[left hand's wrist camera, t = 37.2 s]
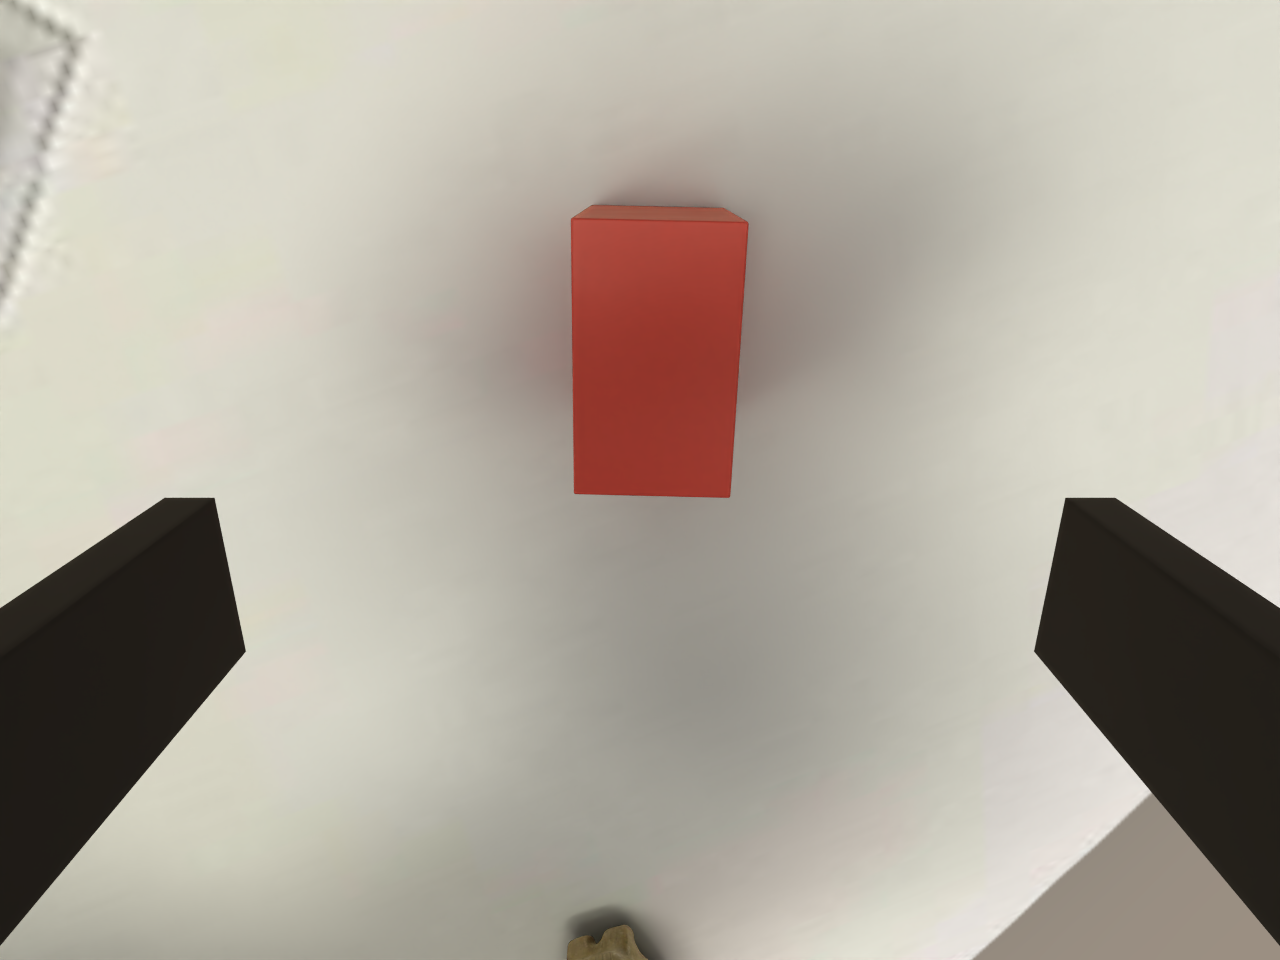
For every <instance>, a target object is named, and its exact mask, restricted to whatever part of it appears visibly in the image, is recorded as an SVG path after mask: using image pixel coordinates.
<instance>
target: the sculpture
mask: <svg viewBox="0 0 1280 960" xmlns="http://www.w3.org/2000/svg"><path fill="white" fill-rule="evenodd" d="M567 960H648V959H647V958H646V957H644V956H643V955H642V954H641V953H640V951H639V949H638V947H637V945H636V943H635V941H634V933H633V931H632V929H631V928H630V927H629V926H627V925H621V926H617V927H612V928H609V929H607V930H606V931H605V932H604V934H603V936H602V939H601V940H600V942H599V943H596V942H595V940H594V938H593V936H589V935H585V936H582V937H579V938H576V939H574V940H572V941H571V942H570V943H569V944H568V950H567Z"/></svg>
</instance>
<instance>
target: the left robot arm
mask: <svg viewBox="0 0 1280 960" xmlns="http://www.w3.org/2000/svg"><path fill="white" fill-rule="evenodd" d="M245 652H246V650H245V645H244V640H243V635H242V630H241V626H240V621H239V616H238V611H237V606H236V601H235V596H234V591H233V586H232V581H231V577H230V572H229V567H228V562H227V557H226V552H225V547H224V542H223V537H222V532H221V528H220V523H219V518H218V513H217V508H216V503H215V498H164V499H162V500H161V501H159V502H158V503H156V504H155V505H153V506H152V507H150V508H149V509H147V510H146V511H144V512H143V513H141V514H140V515H139V516H137V517H136V518H134V519H133V520H131V521H130V522H128V523H127V524H125V525H124V526H122V527H121V528H119V529H118V530H116V531H115V532H113V533H112V534H110V535H109V536H107V537H106V538H104V539H103V540H101V541H100V542H98V543H97V544H95V545H94V546H92V547H91V548H89V549H88V550H86V551H85V552H83V553H82V554H80V555H79V556H77V557H76V558H74V559H73V560H71V561H70V562H68V563H67V564H65V565H64V566H62V567H61V568H59V569H58V570H56V571H55V572H53V573H52V574H50V575H49V576H48V577H46V578H45V579H43V580H42V581H40V582H39V583H37V584H36V585H34V586H33V587H31V588H30V589H28V590H27V591H25V592H24V593H22V594H21V595H19V596H18V597H16V598H15V599H13V600H12V601H10V602H9V603H7V604H6V605H4V606H3V607H1V608H0V945H1V944H2V943H3V942H4V940H5V939H6V938H7V937H8V936H9V935H10V933H11V932H12V931H13V930H14V929H15V927H16V926H17V925H18V924H19V923H20V921H21V920H22V919H23V918H24V917H25V915H26V914H27V913H28V912H29V911H30V909H31V908H32V907H33V906H34V905H35V903H36V902H37V901H38V900H39V899H40V897H41V896H42V895H43V894H44V893H45V891H46V890H47V889H48V888H49V887H50V885H51V884H52V883H53V882H54V881H55V879H56V878H57V877H58V876H59V875H60V873H61V872H62V871H63V870H64V869H65V867H66V866H67V865H68V864H69V863H70V861H71V860H72V859H73V858H74V857H75V855H76V854H77V853H78V852H79V851H80V849H81V848H82V847H83V846H84V845H85V843H86V842H87V841H88V840H89V839H90V837H91V836H92V835H93V834H94V833H95V831H96V830H97V829H98V828H99V827H100V826H101V824H102V823H103V822H104V821H105V820H106V818H107V817H108V816H109V815H110V814H111V812H112V811H113V810H114V809H115V808H116V806H117V805H118V804H119V803H120V802H121V800H122V799H123V798H124V797H125V796H126V794H127V793H128V792H129V791H130V790H131V788H132V787H133V786H134V785H135V784H136V782H137V781H138V780H139V779H140V778H141V776H142V775H143V774H144V773H145V772H146V770H147V769H148V768H149V767H150V766H151V764H152V763H153V762H154V761H155V760H156V758H157V757H158V756H159V755H160V754H161V752H162V751H163V750H164V749H165V748H166V746H167V745H168V744H169V743H170V742H171V740H172V739H173V738H174V737H175V736H176V734H177V733H178V732H179V731H180V730H181V728H182V727H183V726H184V725H185V724H186V722H187V721H188V720H189V719H190V718H191V717H192V715H193V714H194V713H195V712H196V711H197V709H198V708H199V707H200V706H201V705H202V703H203V702H204V701H205V700H206V699H207V697H208V696H209V695H210V694H211V693H212V691H213V690H214V689H215V688H216V687H217V685H218V684H219V683H220V682H221V681H222V679H223V678H224V677H225V676H226V675H227V673H228V672H229V671H230V670H231V669H232V667H233V666H234V665H235V664H236V663H237V661H238V660H239V659H240V658H241V657H242V655H243V654H244V653H245ZM1034 652H1035V653H1036V654H1037V655H1038V657H1039V658H1040V659H1041V660H1042V661H1043V663H1044V664H1045V665H1046V666H1047V667H1048V669H1049V670H1050V671H1051V672H1052V673H1053V675H1054V676H1055V677H1056V678H1057V679H1058V681H1059V682H1060V683H1061V684H1062V685H1063V687H1064V688H1065V689H1066V690H1067V691H1068V693H1069V694H1070V695H1071V696H1072V697H1073V699H1074V700H1075V701H1076V702H1077V703H1078V705H1079V706H1080V707H1081V708H1082V709H1083V711H1084V712H1085V713H1086V714H1087V715H1088V717H1089V718H1090V719H1091V720H1092V721H1093V723H1094V724H1095V725H1096V726H1097V727H1098V728H1099V730H1100V731H1101V732H1102V733H1103V734H1104V736H1105V737H1106V738H1107V739H1108V740H1109V742H1110V743H1111V744H1112V745H1113V746H1114V748H1115V749H1116V750H1117V751H1118V752H1119V754H1120V755H1121V756H1122V757H1123V758H1124V760H1125V761H1126V762H1127V763H1128V764H1129V766H1130V767H1131V768H1132V769H1133V770H1134V772H1135V773H1136V774H1137V775H1138V776H1139V778H1140V779H1141V780H1142V781H1143V782H1144V784H1145V785H1146V786H1147V787H1148V788H1149V790H1150V791H1151V792H1152V793H1153V794H1154V796H1155V797H1156V798H1157V799H1158V800H1159V802H1160V803H1161V804H1162V805H1163V806H1164V808H1165V809H1166V810H1167V811H1168V812H1169V814H1170V815H1171V816H1172V817H1173V818H1174V820H1175V821H1176V822H1177V823H1178V824H1179V825H1180V827H1181V828H1182V829H1183V830H1184V831H1185V833H1186V834H1187V835H1188V836H1189V837H1190V839H1191V840H1192V841H1193V842H1194V843H1195V845H1196V846H1197V847H1198V848H1199V849H1200V851H1201V852H1202V853H1203V854H1204V855H1205V857H1206V858H1207V859H1208V860H1209V861H1210V863H1211V864H1212V865H1213V866H1214V867H1215V869H1216V870H1217V871H1218V872H1219V873H1220V875H1221V876H1222V877H1223V878H1224V879H1225V881H1226V882H1227V883H1228V884H1229V885H1230V887H1231V888H1232V889H1233V890H1234V891H1235V893H1236V894H1237V895H1238V896H1239V897H1240V899H1241V900H1242V901H1243V902H1244V903H1245V905H1246V906H1247V907H1248V908H1249V909H1250V911H1251V912H1252V913H1253V914H1254V915H1255V917H1256V918H1257V919H1258V920H1259V921H1260V923H1261V924H1262V925H1263V926H1264V927H1265V929H1266V930H1267V931H1268V932H1269V933H1270V934H1271V936H1272V937H1273V938H1274V939H1275V940H1276V942H1277V943H1278V944H1279V945H1280V608H1279V607H1277V606H1276V605H1274V604H1273V603H1271V602H1270V601H1268V600H1267V599H1265V598H1264V597H1262V596H1261V595H1259V594H1258V593H1256V592H1255V591H1253V590H1252V589H1250V588H1249V587H1247V586H1246V585H1244V584H1243V583H1241V582H1240V581H1238V580H1237V579H1235V578H1234V577H1232V576H1231V575H1230V574H1228V573H1227V572H1225V571H1224V570H1222V569H1221V568H1219V567H1218V566H1216V565H1215V564H1213V563H1212V562H1210V561H1209V560H1207V559H1206V558H1204V557H1203V556H1201V555H1200V554H1198V553H1197V552H1195V551H1194V550H1192V549H1191V548H1189V547H1188V546H1186V545H1185V544H1183V543H1182V542H1180V541H1179V540H1177V539H1176V538H1174V537H1173V536H1171V535H1170V534H1168V533H1167V532H1165V531H1164V530H1162V529H1161V528H1159V527H1158V526H1156V525H1155V524H1153V523H1152V522H1150V521H1149V520H1147V519H1146V518H1144V517H1143V516H1141V515H1140V514H1139V513H1137V512H1136V511H1134V510H1133V509H1131V508H1130V507H1128V506H1127V505H1125V504H1124V503H1122V502H1121V501H1119V500H1118V499H1116V498H1065V503H1064V508H1063V513H1062V518H1061V523H1060V528H1059V532H1058V537H1057V542H1056V547H1055V552H1054V557H1053V562H1052V567H1051V572H1050V577H1049V581H1048V586H1047V591H1046V596H1045V601H1044V606H1043V611H1042V616H1041V621H1040V626H1039V630H1038V635H1037V640H1036V645H1035V650H1034Z"/></svg>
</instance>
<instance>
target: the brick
mask: <svg viewBox="0 0 1280 960" xmlns="http://www.w3.org/2000/svg"><path fill="white" fill-rule="evenodd" d="M747 239H748V222H747V221H745V220H743V219H742V218H740V217H738V216H736V215H735V214H733V213H731V212H730V211H728V210H726V209H725V208H702V207H657V206H612V205H591V206H590V207H588V208H587V209H585V210H584V211H582V212H581V213H579V214H578V215H576V216H574V217H573V218H572V219H571V268H572V359H573V450H574V493H575V494H596V495H638V496H679V497H720V498H729V497H730V492H731V477H732V462H733V447H734V432H735V417H736V403H737V388H738V373H739V358H740V343H741V328H742V313H743V299H744V284H745V269H746V254H747Z"/></svg>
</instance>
